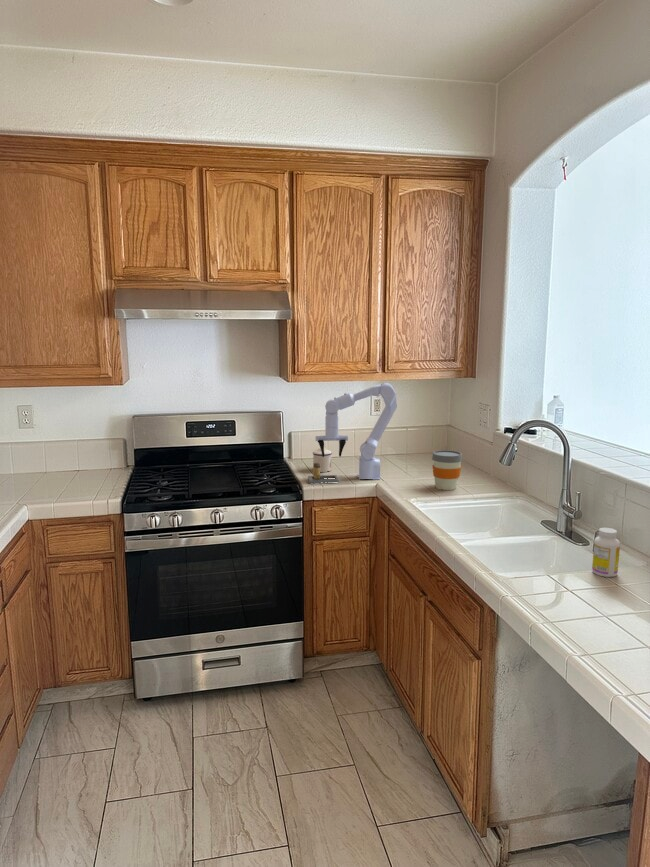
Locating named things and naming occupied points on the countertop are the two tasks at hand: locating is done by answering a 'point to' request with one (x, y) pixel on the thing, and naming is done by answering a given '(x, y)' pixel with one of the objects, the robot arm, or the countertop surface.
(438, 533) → the countertop surface
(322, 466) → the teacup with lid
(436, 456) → the reusable coffee cup
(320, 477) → the keyhole plate
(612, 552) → the supplement bottle
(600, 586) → the countertop surface
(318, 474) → the peg
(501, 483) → the countertop surface
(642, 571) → the countertop surface
